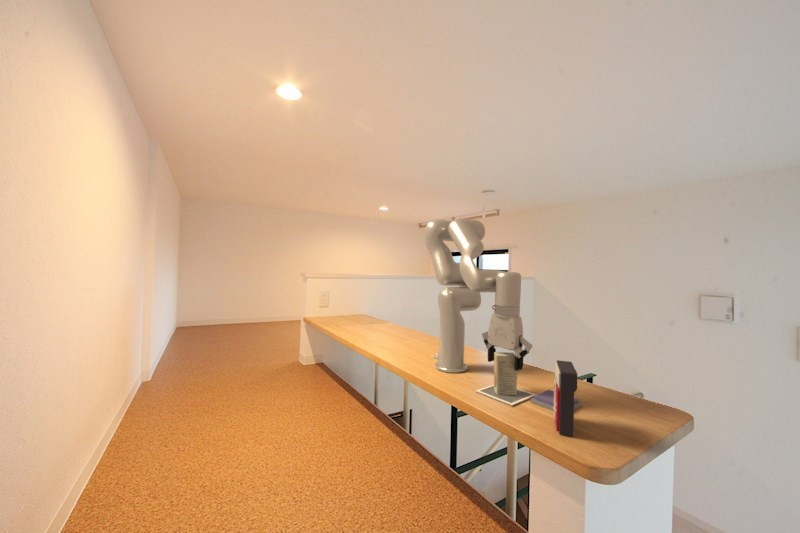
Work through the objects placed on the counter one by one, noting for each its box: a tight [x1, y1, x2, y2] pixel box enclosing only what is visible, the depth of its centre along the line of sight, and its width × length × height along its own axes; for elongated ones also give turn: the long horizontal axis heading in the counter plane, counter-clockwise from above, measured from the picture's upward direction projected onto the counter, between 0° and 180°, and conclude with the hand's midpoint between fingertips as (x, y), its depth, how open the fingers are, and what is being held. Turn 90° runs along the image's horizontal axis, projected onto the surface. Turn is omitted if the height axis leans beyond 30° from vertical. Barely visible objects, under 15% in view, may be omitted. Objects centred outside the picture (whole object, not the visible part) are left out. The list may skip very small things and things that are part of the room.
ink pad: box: [529, 389, 582, 412], centre depth 94 cm, size 10×10×2 cm
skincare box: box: [493, 351, 518, 395], centre depth 101 cm, size 6×4×12 cm
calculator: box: [553, 360, 578, 438], centre depth 81 cm, size 11×4×15 cm, turn 159°
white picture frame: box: [475, 384, 537, 407], centre depth 101 cm, size 13×13×1 cm
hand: (504, 365), depth 102 cm, fingers open, 9 cm apart
